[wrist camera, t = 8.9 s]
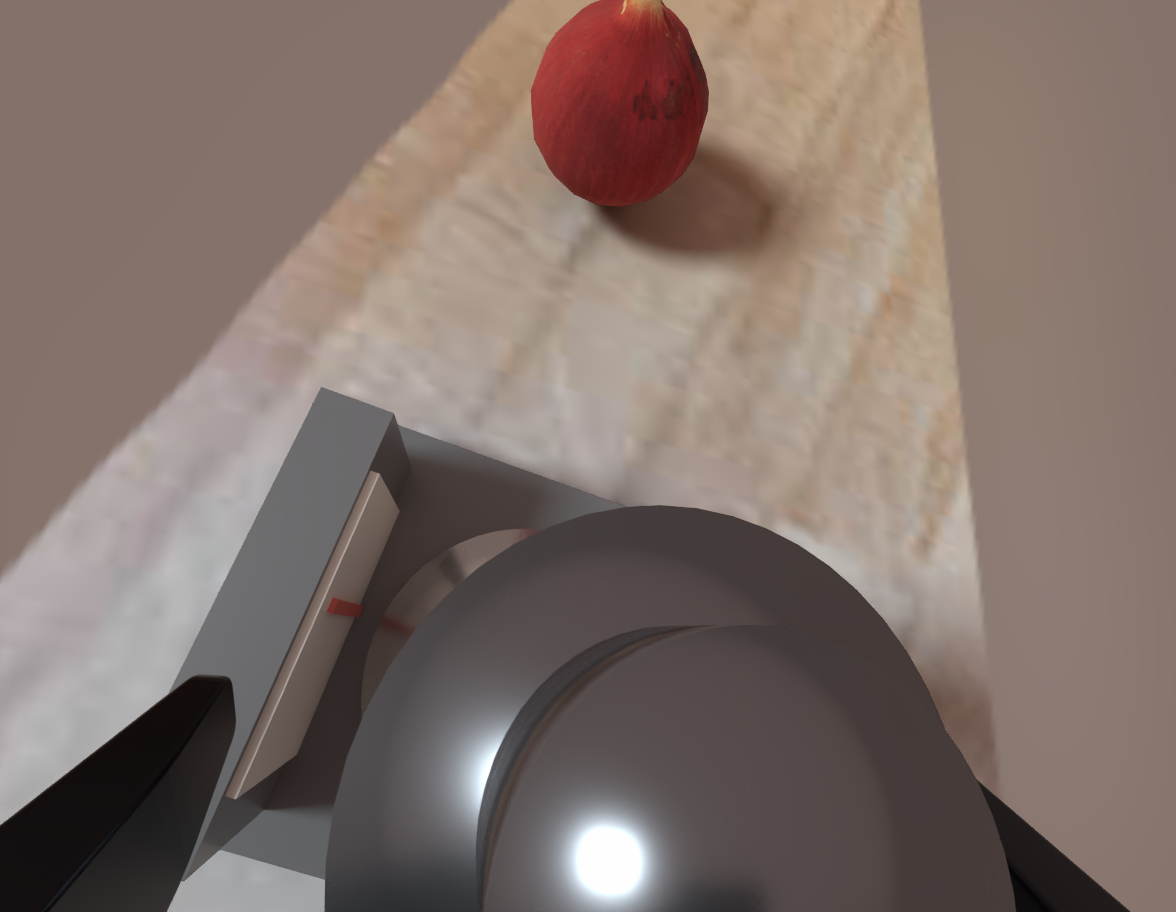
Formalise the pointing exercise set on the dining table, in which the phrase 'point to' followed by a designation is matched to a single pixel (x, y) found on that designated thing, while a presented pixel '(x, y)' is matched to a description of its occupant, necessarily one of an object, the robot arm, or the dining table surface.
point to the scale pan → (428, 599)
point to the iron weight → (658, 741)
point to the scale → (335, 608)
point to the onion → (619, 101)
